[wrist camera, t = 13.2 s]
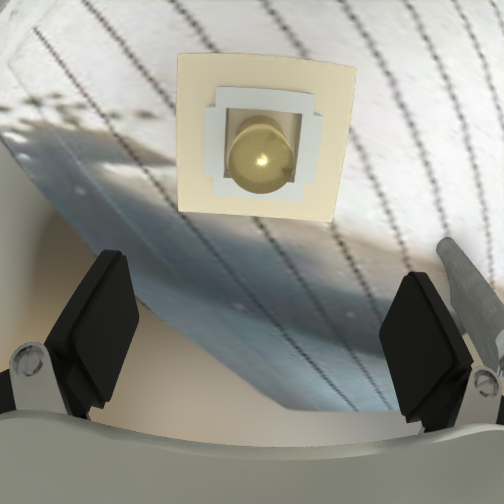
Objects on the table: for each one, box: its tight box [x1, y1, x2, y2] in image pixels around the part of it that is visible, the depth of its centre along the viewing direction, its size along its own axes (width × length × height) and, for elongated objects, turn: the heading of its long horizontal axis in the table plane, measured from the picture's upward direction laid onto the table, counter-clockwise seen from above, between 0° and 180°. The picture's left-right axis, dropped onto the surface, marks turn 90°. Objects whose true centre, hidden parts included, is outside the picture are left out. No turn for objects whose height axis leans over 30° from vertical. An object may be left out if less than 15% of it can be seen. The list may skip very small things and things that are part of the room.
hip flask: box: [436, 237, 504, 382], centre depth 32 cm, size 16×4×20 cm, turn 36°
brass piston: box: [228, 115, 294, 194], centre depth 26 cm, size 5×5×9 cm
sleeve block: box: [176, 53, 357, 222], centre depth 29 cm, size 18×18×4 cm
